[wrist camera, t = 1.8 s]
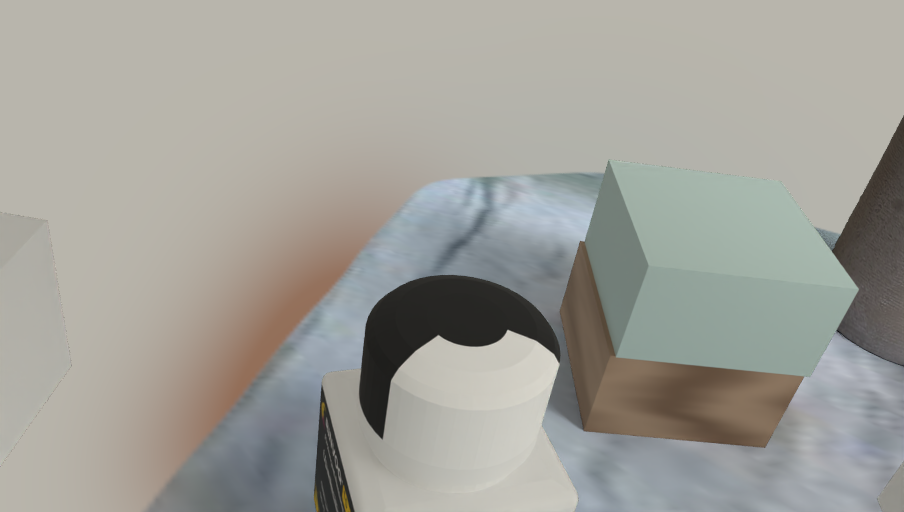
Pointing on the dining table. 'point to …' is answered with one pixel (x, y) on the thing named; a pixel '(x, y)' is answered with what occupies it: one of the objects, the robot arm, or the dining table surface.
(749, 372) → the tower base block
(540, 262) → the dining table surface
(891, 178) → the pillar candle
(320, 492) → the medicine bottle
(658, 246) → the tower top block
